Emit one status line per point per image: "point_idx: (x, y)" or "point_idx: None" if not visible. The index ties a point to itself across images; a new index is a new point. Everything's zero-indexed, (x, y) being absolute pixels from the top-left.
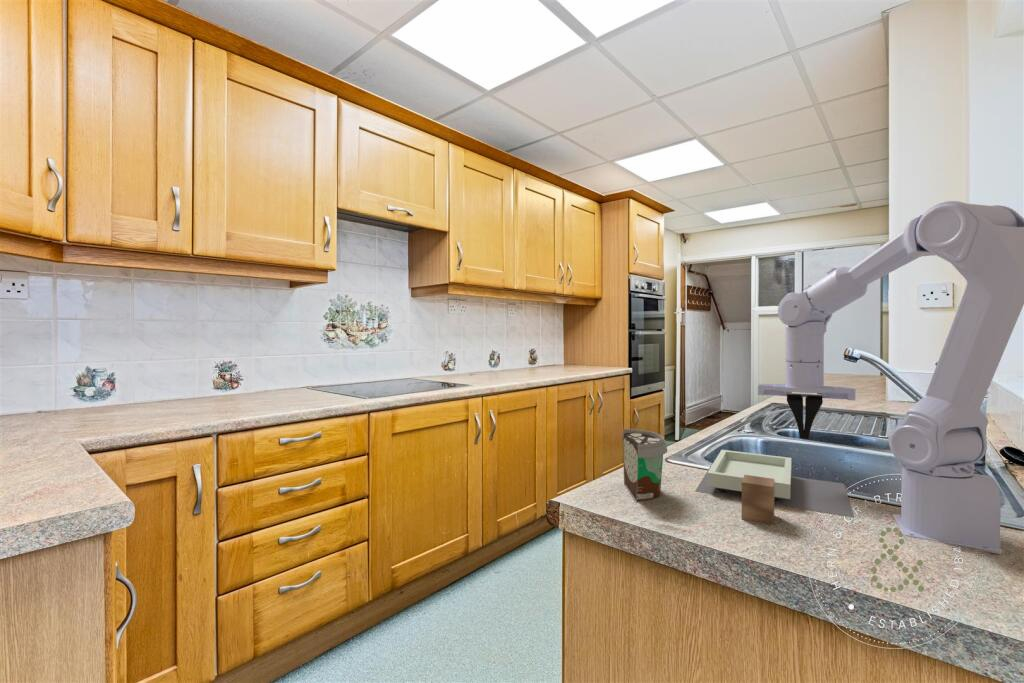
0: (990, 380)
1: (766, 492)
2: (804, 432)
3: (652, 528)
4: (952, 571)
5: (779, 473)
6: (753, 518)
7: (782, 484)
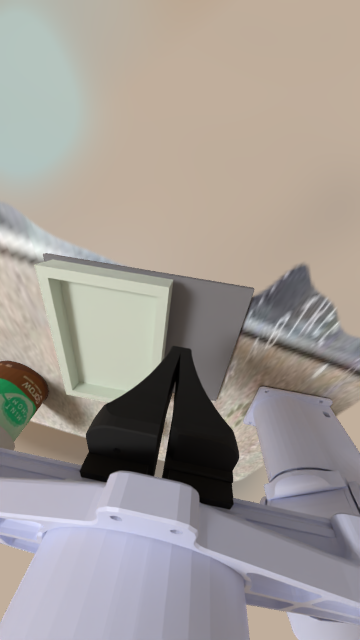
0: None
1: None
2: (175, 384)
3: (71, 431)
4: (247, 449)
5: (149, 334)
6: None
7: None
